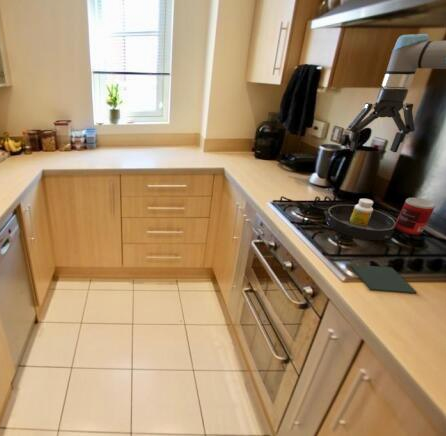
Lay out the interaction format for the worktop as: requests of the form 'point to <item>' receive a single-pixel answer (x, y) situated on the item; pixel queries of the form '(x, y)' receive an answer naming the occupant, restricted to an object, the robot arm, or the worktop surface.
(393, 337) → the worktop surface
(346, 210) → the pan
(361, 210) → the supplement bottle
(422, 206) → the red supplement tub
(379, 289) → the mat
